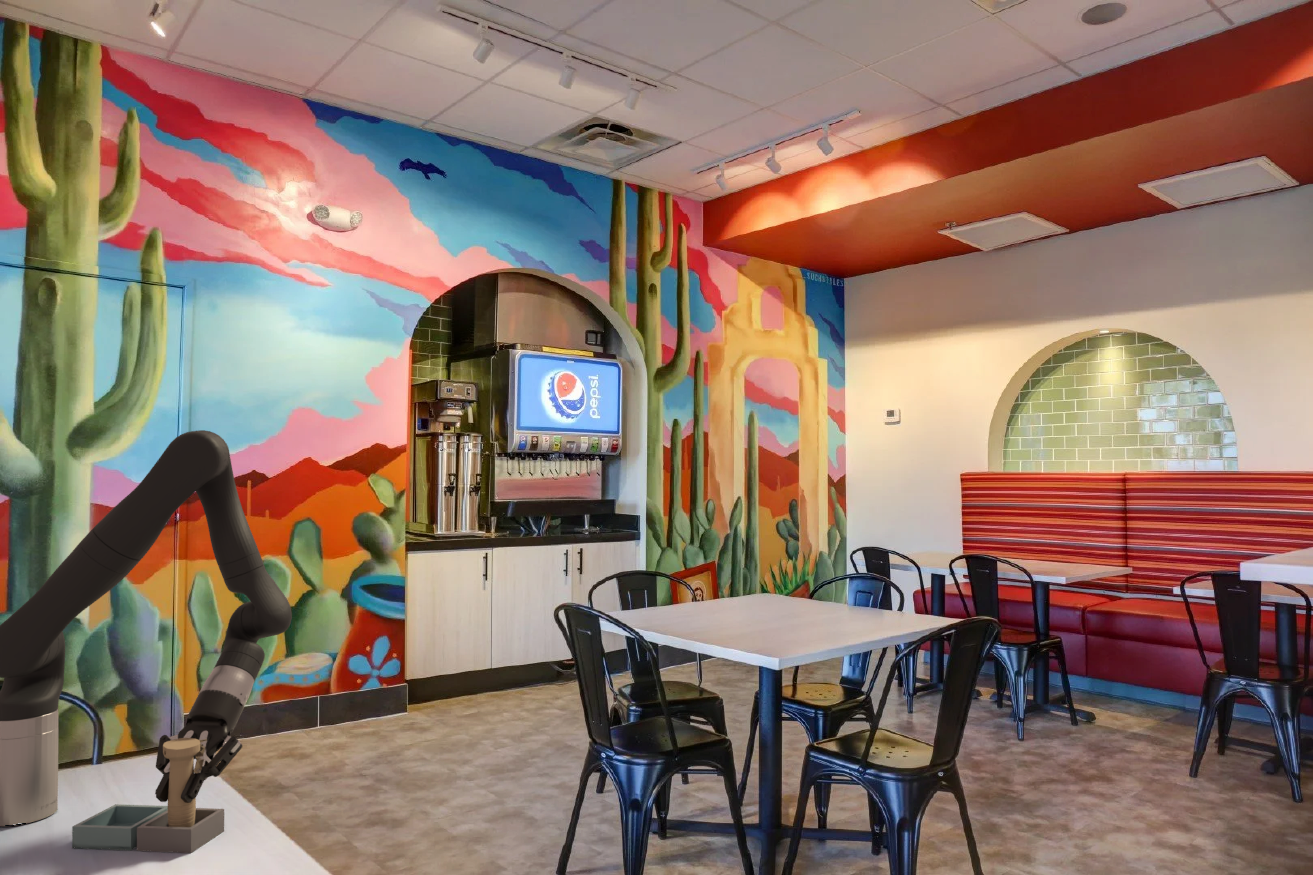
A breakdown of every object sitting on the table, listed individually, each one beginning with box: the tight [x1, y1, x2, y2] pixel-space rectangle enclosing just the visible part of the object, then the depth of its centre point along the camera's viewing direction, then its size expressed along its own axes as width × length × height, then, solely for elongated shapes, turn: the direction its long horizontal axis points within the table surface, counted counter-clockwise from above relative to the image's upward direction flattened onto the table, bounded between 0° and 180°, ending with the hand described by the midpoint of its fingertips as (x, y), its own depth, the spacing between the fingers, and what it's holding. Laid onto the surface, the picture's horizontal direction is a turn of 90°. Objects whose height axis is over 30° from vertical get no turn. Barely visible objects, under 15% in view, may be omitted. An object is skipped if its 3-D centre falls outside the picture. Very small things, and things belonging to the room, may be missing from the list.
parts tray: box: [71, 803, 168, 851], centre depth 137 cm, size 10×9×3 cm
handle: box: [163, 738, 200, 827], centre depth 136 cm, size 5×6×15 cm
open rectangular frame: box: [136, 807, 225, 854], centre depth 135 cm, size 9×8×4 cm
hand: (173, 799), depth 134 cm, fingers closed on handle, 3 cm apart
